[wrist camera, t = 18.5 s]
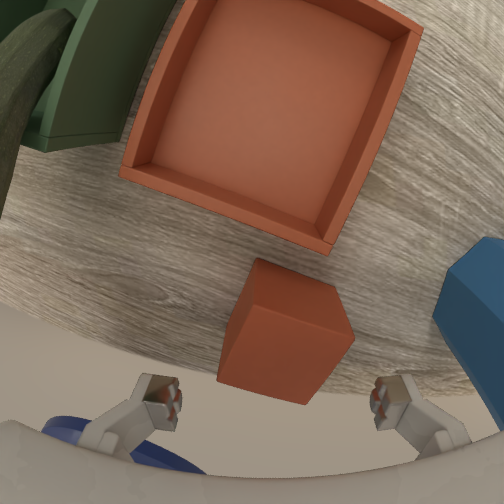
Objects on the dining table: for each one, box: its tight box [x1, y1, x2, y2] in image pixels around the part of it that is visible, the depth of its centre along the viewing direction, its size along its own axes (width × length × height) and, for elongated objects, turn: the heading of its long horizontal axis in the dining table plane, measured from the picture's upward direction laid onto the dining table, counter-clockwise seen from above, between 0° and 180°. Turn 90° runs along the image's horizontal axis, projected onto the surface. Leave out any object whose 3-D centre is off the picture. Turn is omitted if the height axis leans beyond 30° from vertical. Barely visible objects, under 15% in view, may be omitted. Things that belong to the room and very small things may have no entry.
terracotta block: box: [217, 258, 355, 405], centre depth 16 cm, size 5×5×5 cm
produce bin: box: [0, 0, 176, 153], centre depth 9 cm, size 10×10×6 cm
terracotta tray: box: [118, 0, 424, 256], centre depth 12 cm, size 12×10×3 cm
